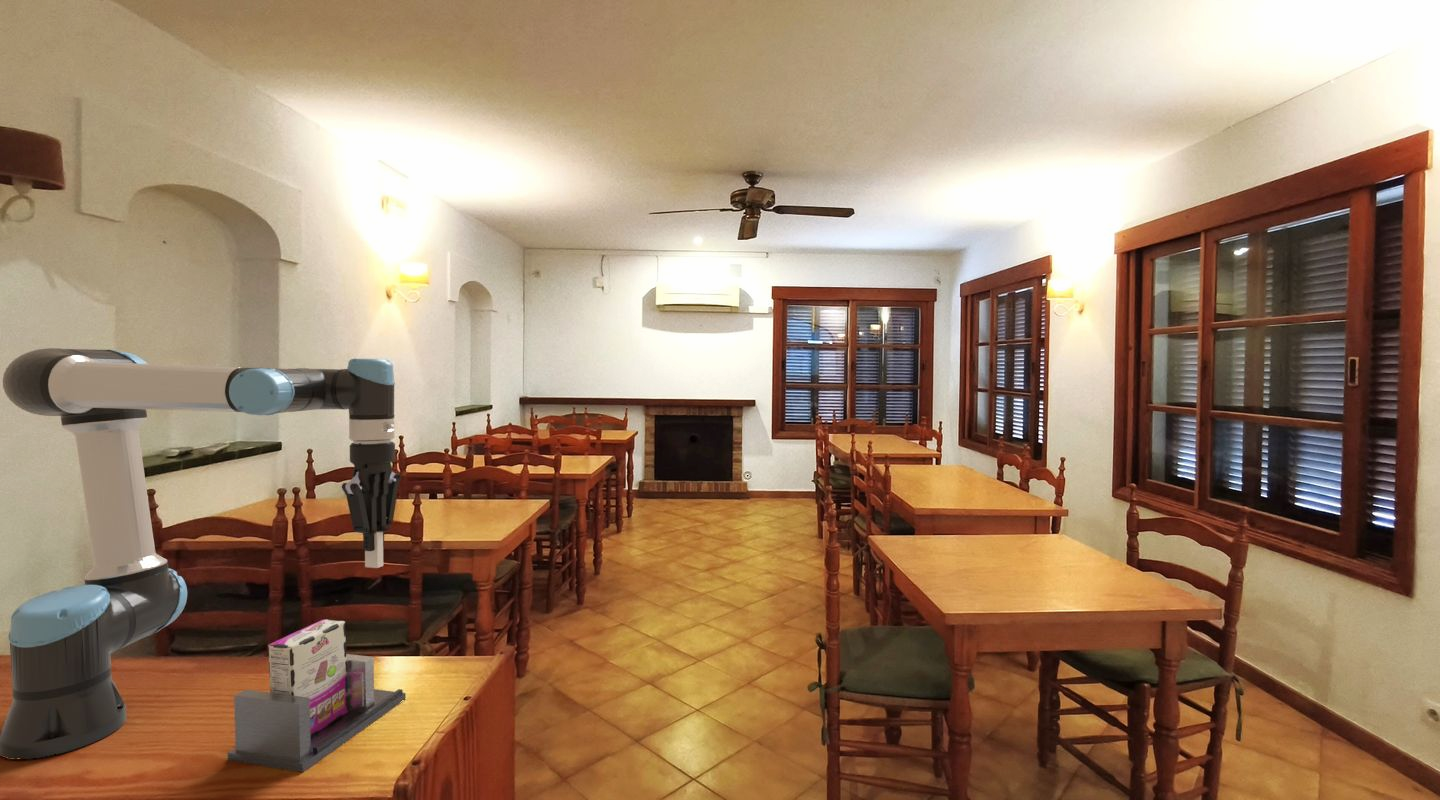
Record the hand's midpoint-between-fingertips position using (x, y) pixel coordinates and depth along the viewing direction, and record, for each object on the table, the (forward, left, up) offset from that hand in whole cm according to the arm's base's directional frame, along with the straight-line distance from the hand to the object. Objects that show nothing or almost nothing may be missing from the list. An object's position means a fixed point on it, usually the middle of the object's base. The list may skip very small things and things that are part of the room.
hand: (374, 566), depth 124 cm
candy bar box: (0, -15, -23) cm, 28 cm away
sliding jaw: (0, -5, -23) cm, 23 cm away
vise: (0, -12, -24) cm, 27 cm away
